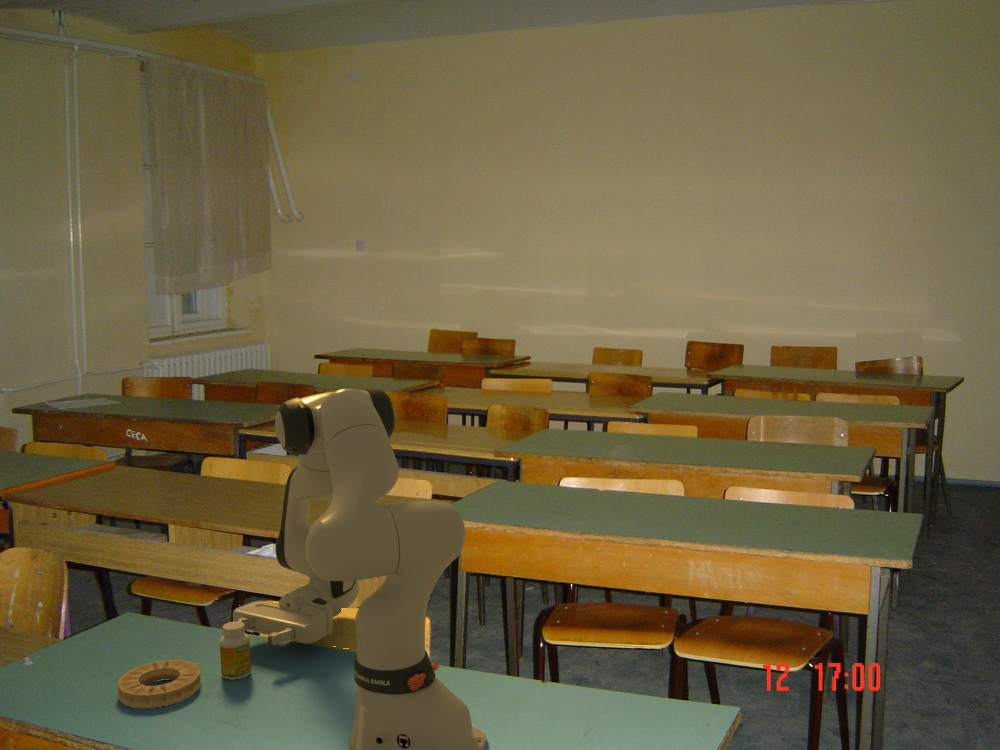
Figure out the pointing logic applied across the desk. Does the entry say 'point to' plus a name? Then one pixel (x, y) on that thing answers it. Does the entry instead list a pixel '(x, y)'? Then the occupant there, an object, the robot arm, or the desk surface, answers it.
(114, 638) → the desk surface
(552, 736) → the desk surface
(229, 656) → the supplement bottle
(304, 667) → the desk surface
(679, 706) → the desk surface
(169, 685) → the plain brown donut
